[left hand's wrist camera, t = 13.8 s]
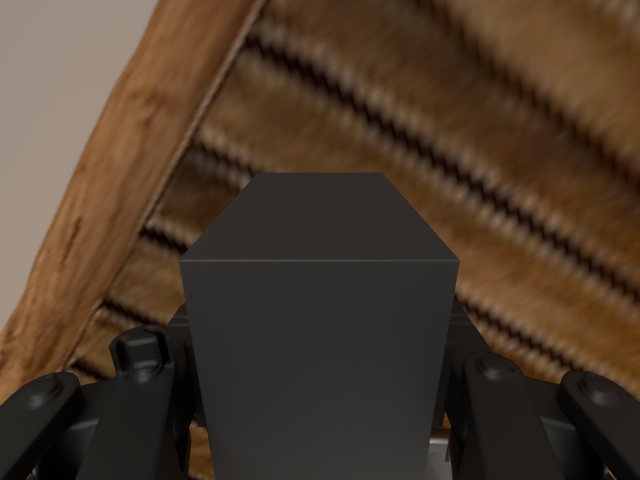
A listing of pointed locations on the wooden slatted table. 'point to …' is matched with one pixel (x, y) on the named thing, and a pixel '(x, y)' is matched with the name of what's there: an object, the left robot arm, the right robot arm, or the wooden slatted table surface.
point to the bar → (319, 329)
